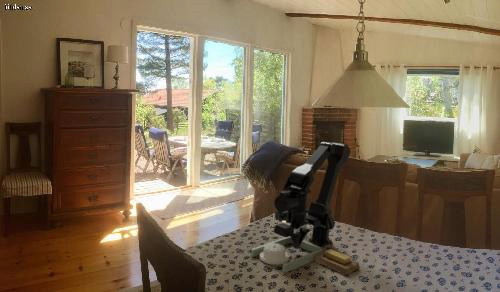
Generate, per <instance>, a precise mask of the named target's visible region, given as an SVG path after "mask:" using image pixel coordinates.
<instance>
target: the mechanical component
mask: <svg viewBox="0 0 500 292" xmlns="http://www.w3.org/2000/svg"><path fill="white" fill-rule="evenodd" d="M264 245H265V244H264ZM259 260H260V261H261V262H263V263H265V264H267V265H268V264H269V265H277V266H278V265H283V264H285V263H288V262H289V253H287V252H286V247H285V245H284V246H283V245H280V244H277V243H275V244H274V243H273V244H268V245H265V246H264V250H263V251H262V252H261V253H260V254H259Z"/></svg>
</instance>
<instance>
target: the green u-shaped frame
mask: <svg viewBox="0 0 500 292" xmlns="http://www.w3.org/2000/svg"><path fill="white" fill-rule="evenodd" d="M273 243H274V244H275V243H277V244H280V245H283V246H284V247H285V246H287V245H289V244H291V245H293V241H292V238H291V236H289V237H282V238H280V239H277V240H274V241H273V240H272V241H271V242H268V243H265V244H262V245H258V246H256V247H253V248H251V251H250V252H251V253H250V257H256V256H260V253H261V252H262V251H263V250H264V246H265V245H268V244H273ZM299 248H302V249H304V250H306V251H308V252H310V253H308V254H306V255H302V256H300V257H297V258H295V259H293V260H291V261H287V262H286V263H284V264H282V273H285V274H286V273H288V272H291V271H293V270H295V269H297V268H299V267H301V266H304V265H306V264H309V263H311V262H313V261H315V256H316V255H319V254H321V253H323V252H325V250H326V249H325V248H323V247H320V246H318V245H316V244H313V243H312V242H311V243H310V242H309V241H306V240H303V241H302V243H301V244H300V246H299Z"/></svg>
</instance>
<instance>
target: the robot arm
mask: <svg viewBox="0 0 500 292" xmlns="http://www.w3.org/2000/svg"><path fill="white" fill-rule="evenodd" d="M350 154H351V148H350V147H349V145H348V144H346V143H341V142H340V143H338V142H334V141H333V142H328V141H327V142H326V141H322V142H320V143H319V145H318V148H317V149H316V150H315V151H314V152H313V153H312V155H311V156H310V157H309V158H308V159H307V160H306V161H305V162H304V164H302V165H299V166H297V167H296V168H294V169H293V170H292V171H291V172H290V173H289V176H288V178H287V180H286V182H285V183H284V186H283V188H282V190H283V191H279V195H277V196H276V197H275V199H274V201H273V203H274V207H275V209H276V211H274V218H275V220H276V221H278V222H280V223H279V224H275V225H274V227H273V233H274V234H277V235H278V236H282V238H285V237H289V236H291V238H292V241H293V244H292V246H293V248H294V249H296V250H298V249H299V248H300V247H299V246H300V244H301V243H302V241H304V240H305V238H306V236H307V234H308V233H310V229H308V228H307V227H308V226H309V225H311V226H312V232H311V233H312V234H311V235H312V236H311V237H312V238H309V239H308V242H311V243H315V244H317V245H320V246H325V245H326V244H329V243H332V242H333V240H332V239H330V230H334V228H335V225H336V221H335V220H334V218H333V216H332V214H333V208H332V205H331V201H332V197H333V193H334V191H335V187H336V184H337V180H338V177H339V174H340V171H341V168H342V166H343V165H345V163H347V161H348V159H349V156H350ZM325 161H327V166H326V170H325V172H324V176H323V179H322V182H321V186H320V189H319V193H318V196H317V199H315V200H314V201H311V202H310V204H309V209H308V199H309V194H310V193H312V190H311V189H310V187H311V186H312V184H313V183H314V180H315V174H316V173H317V171H318V170H320V168H321V166H322V165H323V164H324V163H325ZM291 186H294V187H298V188H300V189H298V188H294V187H291ZM282 221H286V223H290V225H287V224H284V223H282Z"/></svg>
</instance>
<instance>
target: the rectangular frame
mask: <svg viewBox="0 0 500 292" xmlns="http://www.w3.org/2000/svg"><path fill="white" fill-rule="evenodd" d="M314 262H316V263H319V264H320V265H323V266H325V267H328V268H329V269H332V270H334V271H335V272H338V273H341V274H342V275H346V276H347V275H349V274H351V273H353V272H355V271H356V270H358V269H359V268H360V262H358V261H356V260H353V259H351V258H350V264H349V265H347V266H344V265H342V264H339V263H337V262H334V261H332V260H330V259H327V258H325V252H323V253H321V254H319V255H316V256H315V260H314Z"/></svg>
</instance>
